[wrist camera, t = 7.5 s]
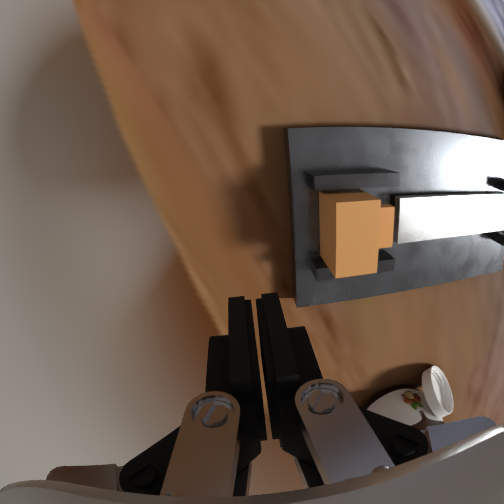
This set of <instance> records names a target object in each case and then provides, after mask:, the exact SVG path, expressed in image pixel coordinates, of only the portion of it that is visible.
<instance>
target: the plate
mask: <svg viewBox="0 0 504 504" xmlns="http://www.w3.org/2000/svg"><path fill="white" fill-rule="evenodd" d="M284 133H285V145H286V158H287V173H288V188H289V204H290V222H291V242H292V265H293V293H294V301H295V304H296V306H297V307H304V306H312V305H319V304H326V303H333V302H340V301H347V300H353V299H359V298H366V297H372V296H378V295H384V294H389V293H395V292H401V291H406V290H411V289H417V288H422V287H427V286H432V285H437V284H442V283H447V282H452V281H456V280H461V279H466V278H470V277H474V276H479V275H483V274H487V273H492V272H496V271H500V270H501V268H502V263H503V259H504V230H501V231H493V232H486V233H478V234H471V235H463V236H455V237H448V238H440V239H432V240H424V241H416V242H409V243H401V244H397V243H396V242H394V241H393V244H392V247H388V248H379V252H378V265H377V273H372V274H365V275H358V276H350V277H343V278H335V277H334V275H333V274H332V272H331V271H330V269H329V268H328V266H327V265H326V263H325V262H324V260H323V259H322V257H321V256H320V222H319V191H324V190H340V189H358V188H359V189H361V190H363V191H365V192H367V193H369V194H371V195H373V196H374V197H376V198H378V199H380V200H381V204H390V205H392V206H394V207H395V196H406V195H429V194H459V193H504V140H498V139H492V138H486V137H480V136H473V135H465V134H457V133H449V132H439V131H429V130H416V129H401V128H379V127H308V128H286V129H284ZM394 213H395V211H394ZM393 231H394V230H393Z"/></svg>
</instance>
